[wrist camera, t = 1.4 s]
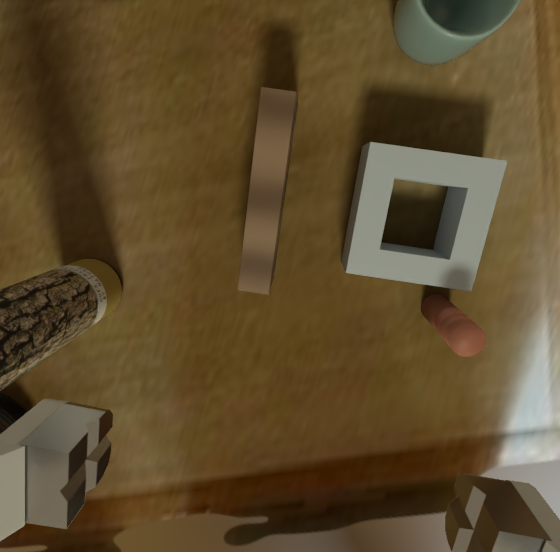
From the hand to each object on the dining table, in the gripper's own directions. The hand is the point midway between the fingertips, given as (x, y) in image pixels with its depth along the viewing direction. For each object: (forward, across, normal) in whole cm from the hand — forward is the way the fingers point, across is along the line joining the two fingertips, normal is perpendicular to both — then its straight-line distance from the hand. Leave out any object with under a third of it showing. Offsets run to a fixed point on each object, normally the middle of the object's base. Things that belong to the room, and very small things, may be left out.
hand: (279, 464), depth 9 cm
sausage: (+34, -16, +4) cm, 38 cm away
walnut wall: (+34, +4, -5) cm, 34 cm away
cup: (+34, -8, -22) cm, 41 cm away
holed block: (+34, -11, -5) cm, 36 cm away
